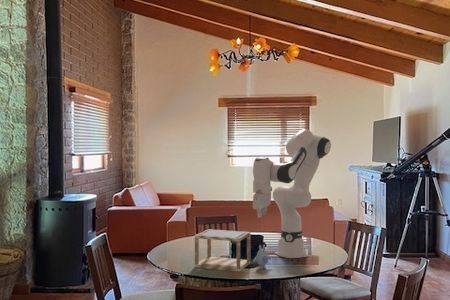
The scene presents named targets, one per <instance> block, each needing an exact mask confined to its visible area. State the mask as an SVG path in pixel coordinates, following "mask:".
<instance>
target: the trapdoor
mask: <svg viewBox="0 0 450 300" xmlns="http://www.w3.org/2000/svg"><path fill="white" fill-rule="evenodd" d="M217 230H218V229H213V230H209V231H207V232H205V233H203V234H200V235H207V236H220V237H234V238H238V237H240V236H241V235H243V234H245V232H246V231H242V232H231V231H232V230H227V231H217ZM231 243H232V244H233V245H234V244H235V245H236V241H231Z"/></svg>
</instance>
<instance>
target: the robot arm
mask: <svg viewBox="0 0 450 300" xmlns="http://www.w3.org/2000/svg"><path fill="white" fill-rule="evenodd" d="M331 146H332V144H331V140H330V139H329V138H327V137H325V136H322V135H321V136H320V135H317V134H313V132H312V131H311V130H310V129H307V128H306V129H305V128H304V129H300V130H299V131H297V132H296V133H295V134H294V135H293V136H292V137H291V138H290V139H288V141H287V143H286V145H285V150H286V153H287V155H289V156H290V158H291V159H290V160H289V161H288V162H286V163H285V162H284V163H282V162H281V163H278V162H277V163H275V162H273V161H272V160H270V157H268V156H258V157H256V158H255V159H254V161H253V168H252V175H253V182H252V185H253V186H252V192H253V193H254V194H253V197H252V209H253V210H256V213H257V218H262V217H263V216H266V215H267V210H268V206H270V205H271V201H272V200H271V199H273V201H274V202H275V203H276V205H277V206H278V209H279V212H280V216H281V230H280V238H279V239H278V240H277V241H278V242H277V243H278V244H277V251H275V253H274V254H275V255H277V256H278V257H282V258H287V259H299V258H308V257H309V249H308V248H306V247H305V241H304V239H303V229H302V216H301V215H300V214H299V212H298V211H297V209H296V208H305V207H308V206H309V205H310V204H311V202H312V195H311V191H310V185H311V182H312V180H313V178H314V176H315V174H316V172H317V170H318V167H319V165H320V162H321V159H323V158H324V157H326V156H327V155H328V154H329V153H330V150H331ZM293 181H294V182H293ZM272 182H274V183H284V184H290V183H292V182H293V185H292V186H290V185H289V186H288V185H287V186H286V185H280V186H277V187H276V188H274V189H273V187H272V186H271V183H272Z"/></svg>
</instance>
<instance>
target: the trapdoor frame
mask: <svg viewBox="0 0 450 300" xmlns="http://www.w3.org/2000/svg"><path fill="white" fill-rule="evenodd" d="M209 230H214V229H213V228H212V229H210V228H208V229H206V230H203V231H201V232H199V233H197V234H194V268H200V269H208V270H220V271H227V270H228V271H229V272H237V271H238V272H239V273H240V272H241V271H242V270H244V269H246V267H247V266H249V265H250V264H251V231H244V232H245V234H243V235H241V236H240V237H238V238H234V237H220V236H207V235H200V234H203V233H205V232H207V231H209ZM216 230H217V231H228V229H227V230H223V229H216ZM230 231H231V232H243V230H241V231H240V230H239V231H238V230H230ZM199 239H200V240H201V239H202V240H206V241H207V243H206V244H207V245H206V247H207V248H206V249H207V250H206V253H207V254H206V256H207V257H205V258H203V259H202V260H199V255H200V254H199V250H200V249H199V248H200V247H199V245H200V244H199V241H200V240H199ZM244 239H246V259H244V258H243V259H242V258H241V241H242V240H244ZM213 240H215V241H216V240H217V241H228V242H232V241H236V243H235V246H236V252H235V253H236V257H235V258H230V257H229V258H228V257H217V256H212V241H213ZM228 271H227V272H228Z"/></svg>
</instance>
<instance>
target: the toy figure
mask: <svg viewBox="0 0 450 300" xmlns="http://www.w3.org/2000/svg"><path fill="white" fill-rule="evenodd" d="M258 249H259V250H258V251H257V253H256V256H255V257H254V258H253V261H252V262H253V263H255V262H256V263H257V264H258V265H259V266H258V269H259V270H262V269H266V268H267V266H265V265H267V263H268V262H269V260H270V261H271V259H272V257H271V256H270V255H269V254H268V253H267V251H266V245H265V244H263V245H261V244H259V246H258Z"/></svg>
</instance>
